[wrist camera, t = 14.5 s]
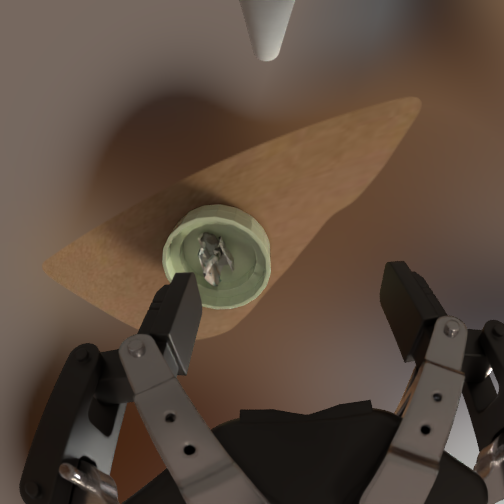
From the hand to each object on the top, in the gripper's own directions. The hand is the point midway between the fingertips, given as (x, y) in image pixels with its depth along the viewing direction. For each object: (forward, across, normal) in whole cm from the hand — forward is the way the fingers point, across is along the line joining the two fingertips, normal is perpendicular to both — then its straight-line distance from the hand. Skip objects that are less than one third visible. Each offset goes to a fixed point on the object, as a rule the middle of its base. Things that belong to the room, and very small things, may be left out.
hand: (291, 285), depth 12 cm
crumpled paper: (+28, +9, +14) cm, 32 cm away
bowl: (+28, +9, +14) cm, 33 cm away
